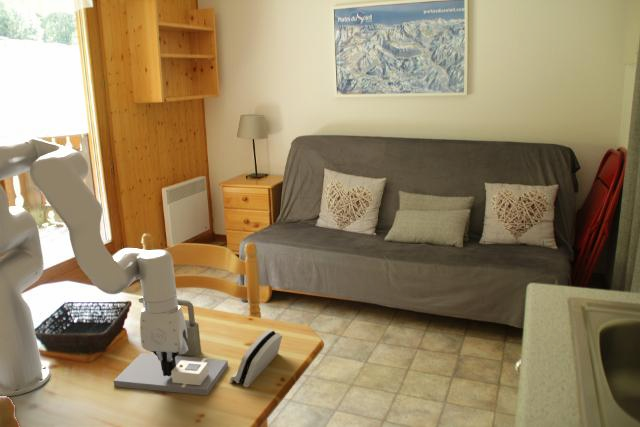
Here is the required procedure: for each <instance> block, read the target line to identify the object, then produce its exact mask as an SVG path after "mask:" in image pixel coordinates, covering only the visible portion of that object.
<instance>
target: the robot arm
mask: <svg viewBox="0 0 640 427" xmlns="http://www.w3.org/2000/svg"><path fill="white" fill-rule="evenodd" d="M24 173H29V176H30V179H31V181H32V182H33V184H34V186H35V187H36V188H37V189H38V191H39V192H40V193H41V195H42V196H43V197H44V199H45V200H46V201H47V203H48V204H49V205H50V207H51V208H52V209H53V210H54V211H55V213H56V214H57V216H58V217H59V218H60V219H61V221H62V222H63V223H64V224H65V226H66V228H67V229H68V234H69V240H70V244H71V248H72V251H73V255H74V258H75V260H76V263H77V264H78V265H79V268H80V269H81V270H82V272H83V273H84V274H85V275H86V277H87V278H88V279H89V280H90V282H92V284H93V285H94V286H95V287H96V288H97V289H98V290H100V291H102V292H103V293H105V294H108V295H118V294H120V293H122V292H124V291H125V290H127V288H129V286H130V285H131V284H132V283H134V282H135V281H137V280H140V281H139V282H140V287H141V294H142V296H140V297H139V298H138V302H139V304H142V305H143V308H142V309H141V310H140V319H139V321H140V322H139V334H140V343H141V348H142V349H143V350H145V351H148V352H151V353H152V354H155V355H156V356H157V357H158V360H159V361H161V368H162V371H163V376H171V375H172V373H171V371H172V370H173V369H174V368H175V366H176V361H175V357H176V356H179V354H185V353H186V352H187V351H188V350H189V349H188V346H187V344H186V343H187V342H188V335H187V328H186V323H185V320H186V319H185V316H184V313H183V309H182V307H181V305H178V302H177V299H178V295H177V287H176V278H175V270H174V260H173V256H172V253H170V251H168V250H166V249H151V250H147V249H140V248H136V247H135V248H134V247H124V248H122V249H118V250H117V252H115V253H114V254H113V255H112V254H111V253H110V252H109V250H108V249H107V247H106V245H105V243H104V241H103V239H102V235H101V234H102V233H101V223H102V222H101V221H102V216H103V207H102V204H101V203H100V202H99V200H98V199H97V198H96V196H95V194H93V192H92V190H90V189H89V187H88V186H87V183H85V181H84V180H85V179H86V177H87V176H88V173H89V165H88V161H87V160H86V158H85V157H84V155H82V153H80V152H79V151H78V150H75V149H73V148H71V147H68V146H64V145H62V144H61V145H60V144H57V143H54V142H50V141H46V140H43V139H39V138H36V137H33V136H28V135H16V136H9V137H5V138H0V182H1V181H3V180H7V179H10V178H13V177H17V176H19V175H22V174H24ZM40 238H41V237H40V233H39V228H38V224H37V222H36V220H35V218H34V216H33V215H32V214H31V213H30V212H29V211H28V210H27V209H25V208H23V207H21V206H20V207H19V206H13V205H12V206H10V205H9V198H8V194H7V192H6V190H5V189H4V187H3V185H2V184H0V256H1V257H0V396H1V397H2V396H3V397H12V396H19V395H24V394H26V393H29V392H31V391H34V390H36V389H39V388H40V387H41V386H43V385H44V384H45V383H46V382H47V381H48V380H49V379H50V377H51V370H50V367H48V366H46V365H43V364H42V361H41V356H40V351H39V346H38V341H37V334H36V330H35V325H34V320H33V315H32V312H31V308H30V306H29V304H28V303H27V302H26V300H24V297H23V296H22V293H23V292H24V291H26V289H27V288H29V287H31V286H32V285H34V284H35V283H36V282H38V280H39V279H41V276H42V275H43V273H44V268H45V267H44V257H43V249H42V245H41V244H42V243H41V239H40Z"/></svg>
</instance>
